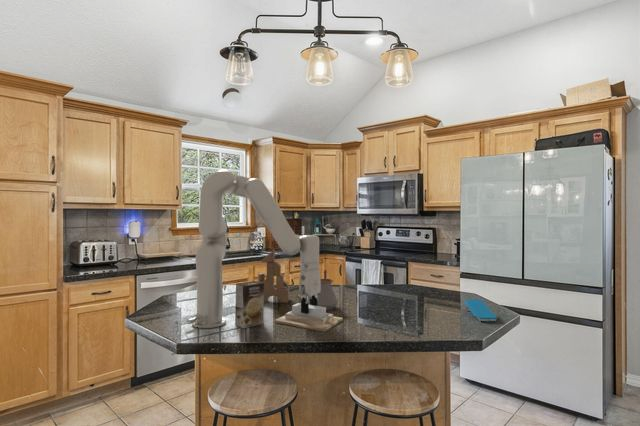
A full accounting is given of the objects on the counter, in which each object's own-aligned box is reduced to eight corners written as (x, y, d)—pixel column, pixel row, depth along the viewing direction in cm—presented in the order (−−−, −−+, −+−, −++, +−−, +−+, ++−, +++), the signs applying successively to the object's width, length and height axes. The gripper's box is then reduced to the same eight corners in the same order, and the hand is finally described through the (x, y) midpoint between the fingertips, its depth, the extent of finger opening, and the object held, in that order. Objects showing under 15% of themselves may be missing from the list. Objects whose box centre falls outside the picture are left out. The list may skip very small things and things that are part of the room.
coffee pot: (338, 312, 164) (338, 277, 164) (311, 311, 164) (312, 277, 164) (336, 300, 186) (337, 269, 185) (313, 299, 186) (313, 269, 186)
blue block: (494, 332, 153) (474, 309, 170) (497, 317, 151) (477, 295, 168) (478, 332, 153) (460, 309, 170) (480, 317, 151) (462, 295, 168)
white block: (320, 322, 145) (320, 309, 145) (292, 317, 151) (292, 305, 151) (325, 319, 149) (326, 306, 149) (297, 315, 155) (298, 302, 155)
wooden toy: (289, 299, 186) (290, 248, 186) (287, 302, 179) (288, 250, 179) (258, 298, 187) (259, 248, 186) (255, 302, 180) (256, 249, 180)
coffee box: (243, 329, 140) (243, 286, 140) (234, 325, 145) (234, 283, 145) (264, 324, 146) (264, 282, 146) (254, 320, 151) (255, 280, 151)
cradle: (324, 331, 138) (324, 323, 138) (274, 322, 148) (274, 314, 148) (342, 320, 152) (342, 313, 152) (296, 312, 162) (296, 305, 162)
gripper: (306, 270, 141) (306, 318, 141) (327, 264, 156) (327, 307, 156) (289, 268, 144) (289, 315, 144) (312, 262, 159) (311, 305, 160)
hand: (309, 310), depth 150 cm, fingers open, 6 cm apart
